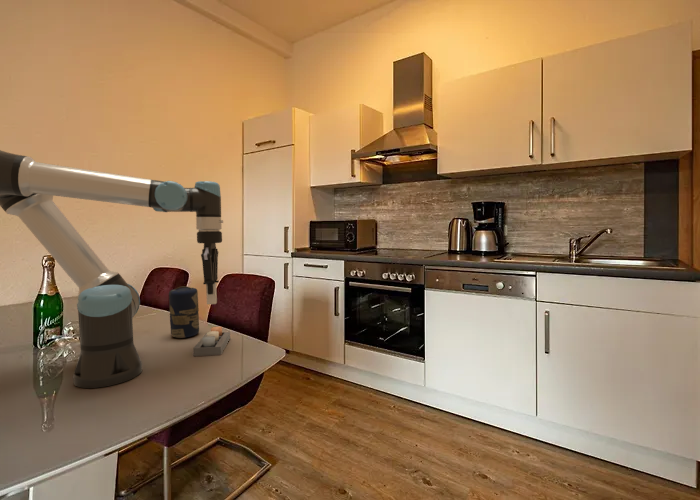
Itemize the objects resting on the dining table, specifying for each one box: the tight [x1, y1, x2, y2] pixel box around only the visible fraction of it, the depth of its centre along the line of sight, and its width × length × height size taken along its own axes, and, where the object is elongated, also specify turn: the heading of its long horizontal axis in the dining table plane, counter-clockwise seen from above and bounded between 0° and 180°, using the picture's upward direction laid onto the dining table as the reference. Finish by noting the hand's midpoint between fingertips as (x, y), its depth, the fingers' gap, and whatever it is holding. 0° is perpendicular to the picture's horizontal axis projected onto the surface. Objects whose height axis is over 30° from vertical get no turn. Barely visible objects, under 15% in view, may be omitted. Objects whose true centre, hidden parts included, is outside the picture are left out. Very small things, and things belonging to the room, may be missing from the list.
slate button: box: [202, 336, 215, 347], centre depth 114 cm, size 4×4×2 cm
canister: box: [168, 285, 200, 339], centre depth 132 cm, size 10×10×18 cm
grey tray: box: [192, 331, 231, 357], centre depth 120 cm, size 16×8×2 cm, turn 8°
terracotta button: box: [210, 326, 223, 336], centre depth 125 cm, size 4×4×2 cm
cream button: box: [206, 330, 219, 341], centre depth 120 cm, size 4×4×2 cm
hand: (211, 303), depth 119 cm, fingers closed
